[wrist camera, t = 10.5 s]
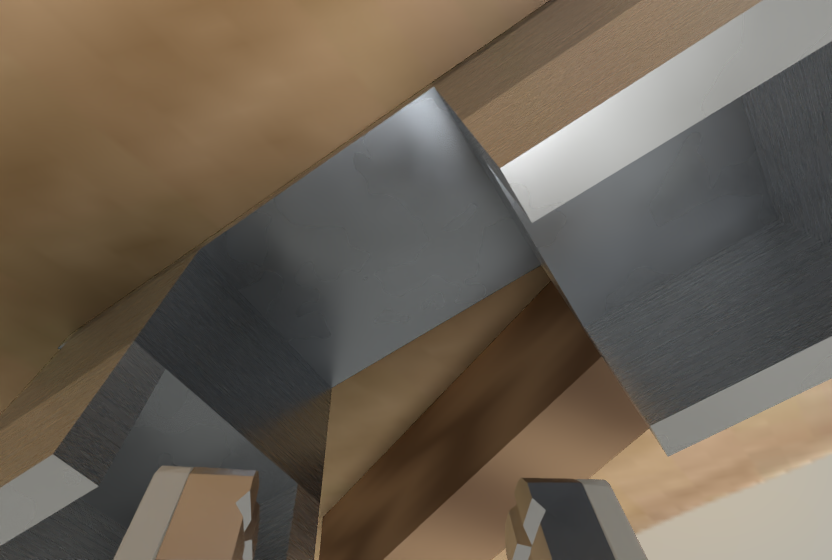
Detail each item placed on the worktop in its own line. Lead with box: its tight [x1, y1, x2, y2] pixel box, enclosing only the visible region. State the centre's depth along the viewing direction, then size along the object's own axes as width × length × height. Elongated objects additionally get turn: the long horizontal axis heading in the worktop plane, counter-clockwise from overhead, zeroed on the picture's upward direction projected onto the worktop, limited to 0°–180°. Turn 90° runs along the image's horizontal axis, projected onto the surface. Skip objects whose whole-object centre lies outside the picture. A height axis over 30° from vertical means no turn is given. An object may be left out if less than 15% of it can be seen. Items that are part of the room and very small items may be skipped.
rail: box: [319, 281, 649, 560], centre depth 20 cm, size 17×3×5 cm, turn 142°
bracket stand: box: [0, 0, 832, 560], centre depth 14 cm, size 22×7×10 cm, turn 123°
